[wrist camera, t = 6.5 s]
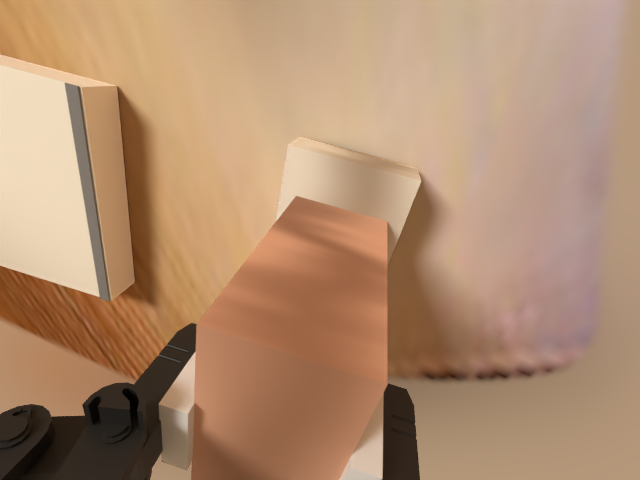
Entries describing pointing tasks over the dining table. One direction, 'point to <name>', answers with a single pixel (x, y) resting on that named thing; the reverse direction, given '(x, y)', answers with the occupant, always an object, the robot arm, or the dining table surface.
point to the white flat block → (63, 180)
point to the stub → (303, 324)
